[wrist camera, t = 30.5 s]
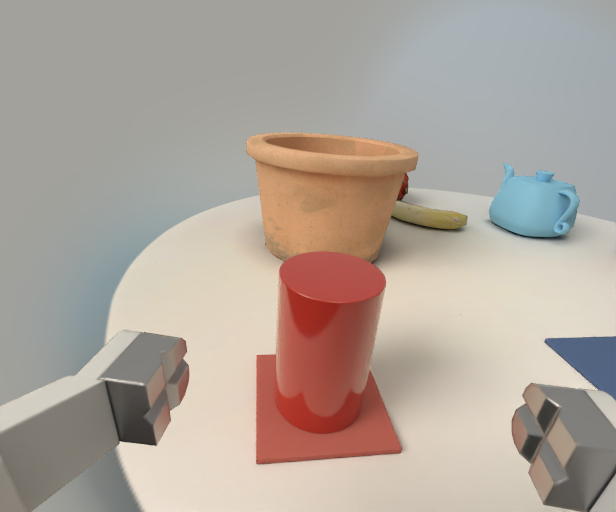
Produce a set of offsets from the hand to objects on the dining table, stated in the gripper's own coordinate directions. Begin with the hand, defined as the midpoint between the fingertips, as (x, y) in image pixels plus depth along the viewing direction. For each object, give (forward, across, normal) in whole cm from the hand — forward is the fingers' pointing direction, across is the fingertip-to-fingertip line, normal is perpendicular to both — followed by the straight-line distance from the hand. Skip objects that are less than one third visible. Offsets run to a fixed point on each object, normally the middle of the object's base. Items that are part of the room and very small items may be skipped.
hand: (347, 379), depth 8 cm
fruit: (+57, +15, -14) cm, 61 cm away
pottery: (+40, -2, -14) cm, 43 cm away
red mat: (+12, -1, -14) cm, 18 cm away
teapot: (+60, +34, -14) cm, 70 cm away
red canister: (+12, -1, -14) cm, 18 cm away
